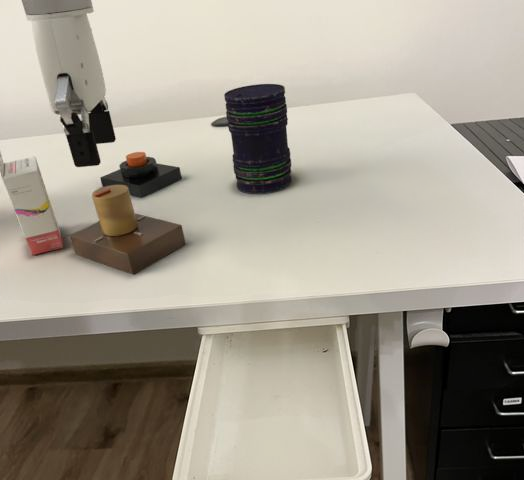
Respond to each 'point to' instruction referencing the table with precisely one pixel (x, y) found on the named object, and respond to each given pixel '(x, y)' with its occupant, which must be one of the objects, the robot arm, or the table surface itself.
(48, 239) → the ink cartridge box
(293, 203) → the table surface
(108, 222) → the dial
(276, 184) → the dark blue barrel
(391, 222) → the table surface
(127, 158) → the button
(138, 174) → the button block
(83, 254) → the dial panel
